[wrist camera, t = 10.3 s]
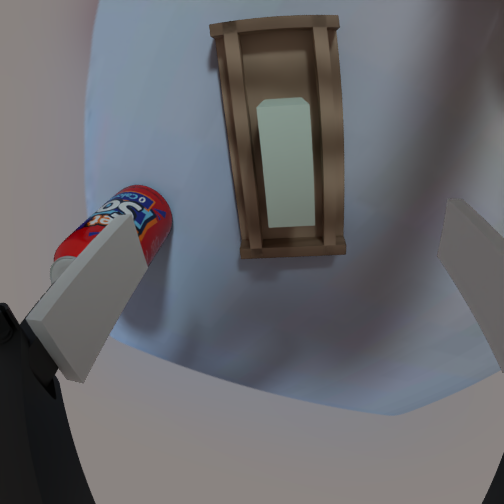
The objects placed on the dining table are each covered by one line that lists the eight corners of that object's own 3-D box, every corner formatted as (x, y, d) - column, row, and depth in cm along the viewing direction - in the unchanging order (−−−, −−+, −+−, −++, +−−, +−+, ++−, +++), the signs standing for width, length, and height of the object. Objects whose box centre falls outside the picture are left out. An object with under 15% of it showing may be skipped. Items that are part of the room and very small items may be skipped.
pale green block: (263, 99, 27) (255, 107, 19) (301, 97, 26) (309, 104, 19) (272, 187, 31) (268, 227, 24) (307, 185, 31) (315, 225, 23)
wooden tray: (215, 29, 24) (209, 24, 21) (333, 21, 23) (338, 15, 20) (244, 244, 36) (241, 258, 34) (341, 240, 35) (345, 254, 32)
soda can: (143, 252, 38) (89, 335, 26) (104, 205, 35) (31, 275, 22) (188, 221, 35) (139, 308, 23) (146, 168, 32) (69, 232, 20)
